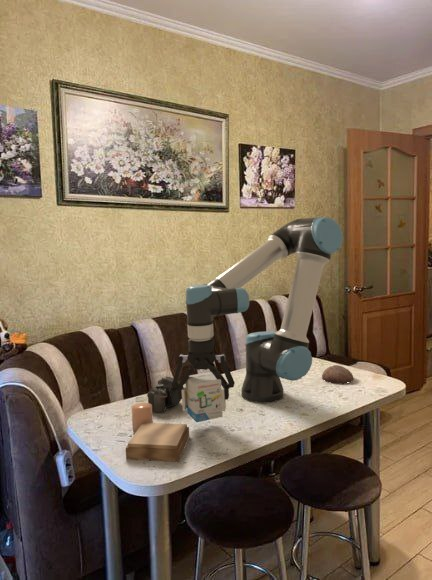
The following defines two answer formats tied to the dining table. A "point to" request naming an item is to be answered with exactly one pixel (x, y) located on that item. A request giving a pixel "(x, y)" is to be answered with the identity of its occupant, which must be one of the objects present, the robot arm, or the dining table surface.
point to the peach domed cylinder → (141, 414)
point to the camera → (163, 395)
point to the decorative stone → (337, 374)
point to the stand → (158, 442)
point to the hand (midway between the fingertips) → (204, 409)
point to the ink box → (204, 397)
